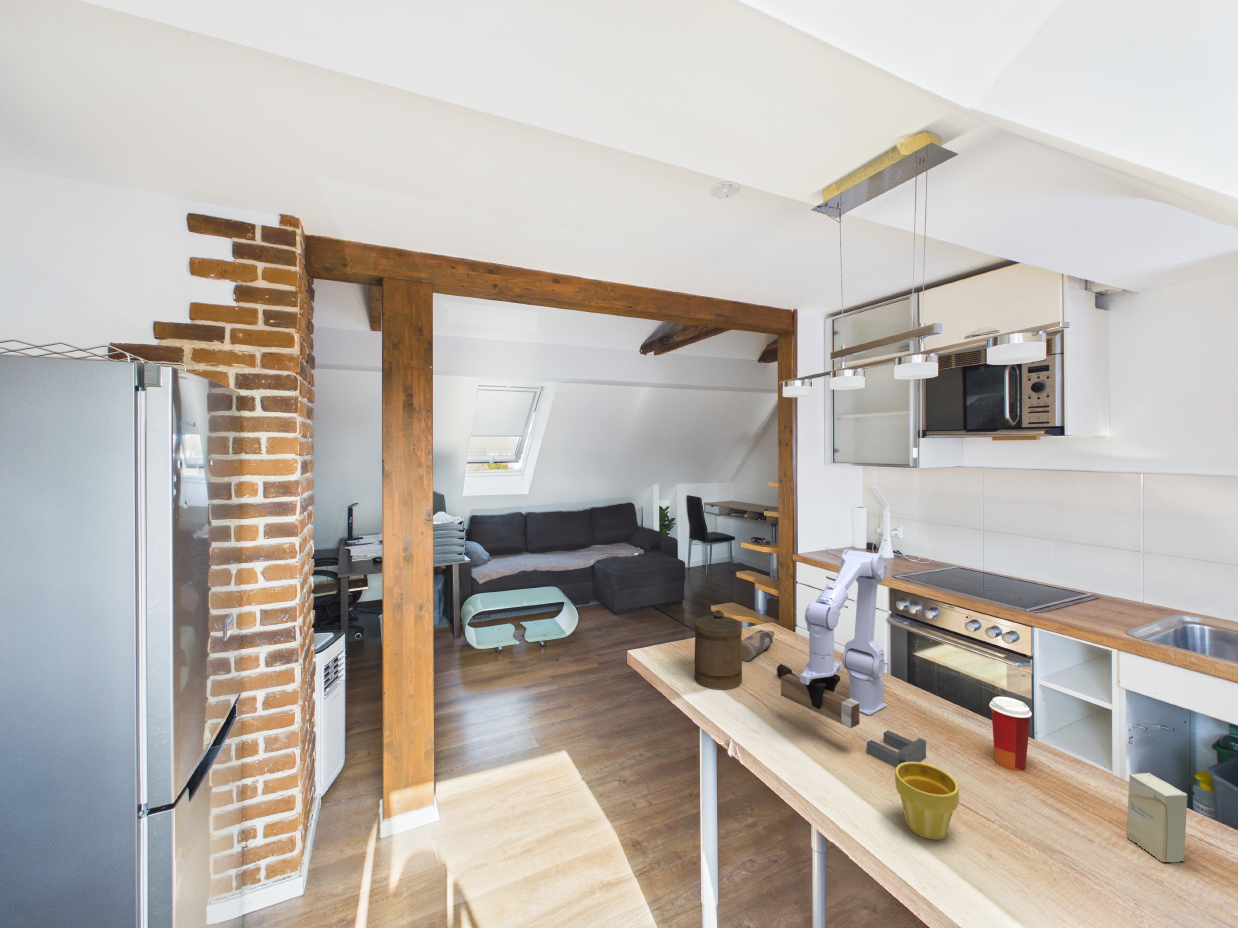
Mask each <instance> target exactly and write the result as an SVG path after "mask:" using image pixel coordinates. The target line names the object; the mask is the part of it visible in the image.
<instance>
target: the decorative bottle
mask: <svg viewBox="0 0 1238 928" xmlns="http://www.w3.org/2000/svg"><path fill="white" fill-rule="evenodd" d="M774 636H775V631H774V630H768V631H767V630H764V629H763V630H762V629H761V630H757V631H756V632H753V633H752V634H751V635H749V636H746V638H744V639H741V641H742V662H749V661H752V659H753V658H754V657H756V656H757V655H759V654H760V653H762V652H763V651H765V650H768V649H769V648H770V647H771V645H772V644H773V643H774V642H773V638H774Z"/></svg>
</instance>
